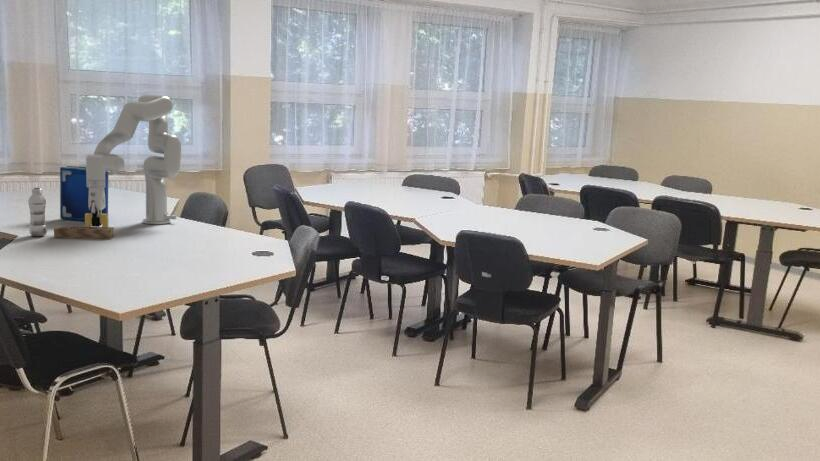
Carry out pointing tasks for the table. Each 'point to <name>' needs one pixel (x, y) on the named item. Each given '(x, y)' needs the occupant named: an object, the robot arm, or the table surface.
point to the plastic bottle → (37, 213)
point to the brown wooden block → (84, 232)
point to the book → (76, 193)
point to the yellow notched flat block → (102, 220)
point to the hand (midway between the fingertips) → (96, 225)
